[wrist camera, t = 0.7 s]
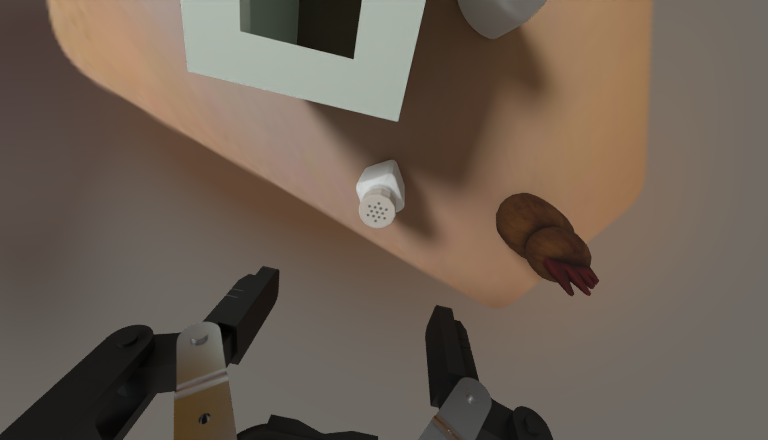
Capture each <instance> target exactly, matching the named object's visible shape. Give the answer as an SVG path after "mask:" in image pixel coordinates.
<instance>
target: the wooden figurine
mask: <svg viewBox="0 0 768 440" xmlns="http://www.w3.org/2000/svg"><path fill="white" fill-rule="evenodd" d="M496 227H497V231H498V233H499V234H500V236H501V237H502V238H503V240H504V241H505V242H506V243H507V245H508V246H509V247H510V248H511V249H513V250H514V251H515V252H516V253H517V254H519V255H520V256H521V257H523V258H525V259H527V261H528V263H529V264H530V266H531V267H532V268H533V270H534V271H535V272H536V273H537V274H538V275H540V276H541V277H542V278H544V279H546V280H549V281H553V282H558V283H559V284H560V285H561V287H562V288H563V289H564V290H565V291H566V292H567V293H568V294H569V295H570V296H573V295H574V292H573V289H572V287H571V284H570V282H572V283H573V284H574V285H575V286H576V287H578V288H579V289H580V290H581V291H582V292H583V293H585V294H586V295H588V296H590V295H591V293H590V291H589V290H588V288H587V287H589V288H590V289H593V288H594V287H595V285H596V284H597V283H598V282H599V280H598V278H597V276H596V275H595V273H594V272H593V271H592V269H591V268H590V264H591V254H590V251H589V249H588V247H587V245H586V244H585V242H584V241H583V240H582V239H581V238H580V237H579V236H578V235H577V234H575V233H574V229H573V227H572V225H571V224H570V222H569V221H568V219H567V218H566V217H565V216H564V215H563V214H562V213H561V212H560V211H558V210H557V209H556V208H555V207H554V206H552V205H551V204H549V203H548V202H546V201H545V200H543V199H541V198H539V197H537V196H535V195H532V194H529V193H520V194H515V195H512V196H510V197H508V198H507V199H505V200H504V201H503V202H502V203H501V204H500V207H499V209H498V211H497V213H496Z"/></svg>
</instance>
